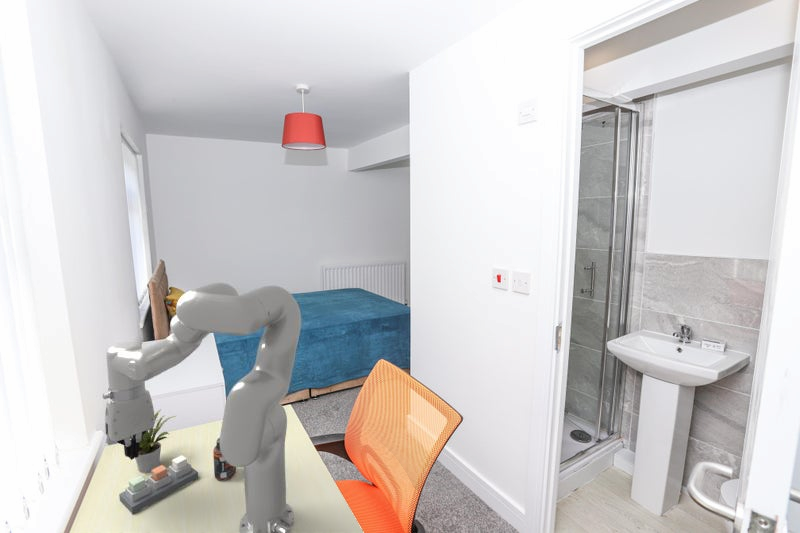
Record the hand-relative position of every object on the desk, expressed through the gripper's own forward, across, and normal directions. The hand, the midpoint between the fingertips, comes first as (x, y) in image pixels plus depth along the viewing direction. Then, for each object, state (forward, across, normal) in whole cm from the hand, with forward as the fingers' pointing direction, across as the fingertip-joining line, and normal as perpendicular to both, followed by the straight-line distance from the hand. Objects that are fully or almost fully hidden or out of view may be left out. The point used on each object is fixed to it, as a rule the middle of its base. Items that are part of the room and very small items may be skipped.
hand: (132, 456), depth 104 cm
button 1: (+9, 0, -1) cm, 9 cm away
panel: (+13, +6, -1) cm, 14 cm away
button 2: (+9, +6, -1) cm, 11 cm away
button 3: (+9, +11, -1) cm, 15 cm away
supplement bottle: (+13, +20, -10) cm, 26 cm away
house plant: (+13, +10, +12) cm, 20 cm away
